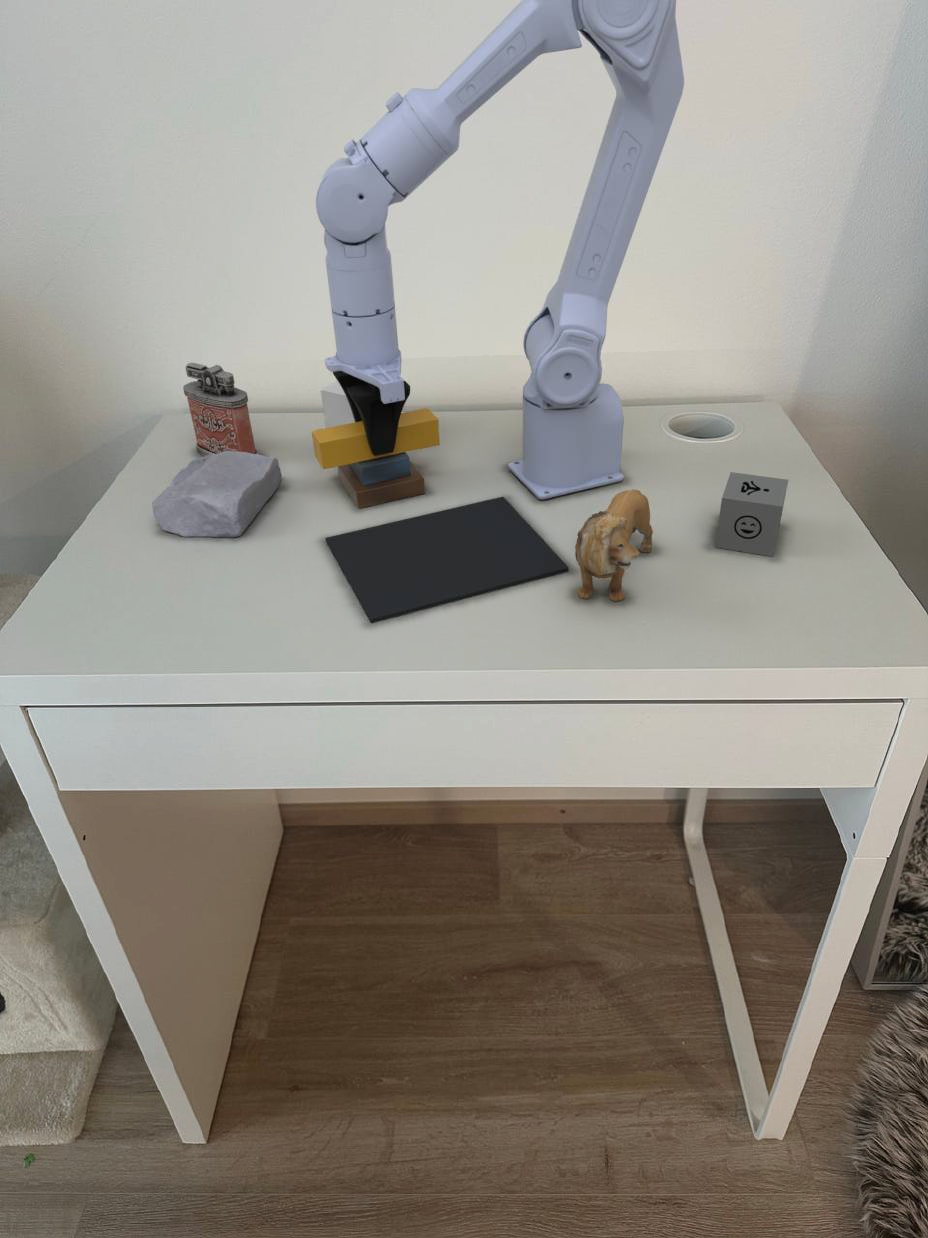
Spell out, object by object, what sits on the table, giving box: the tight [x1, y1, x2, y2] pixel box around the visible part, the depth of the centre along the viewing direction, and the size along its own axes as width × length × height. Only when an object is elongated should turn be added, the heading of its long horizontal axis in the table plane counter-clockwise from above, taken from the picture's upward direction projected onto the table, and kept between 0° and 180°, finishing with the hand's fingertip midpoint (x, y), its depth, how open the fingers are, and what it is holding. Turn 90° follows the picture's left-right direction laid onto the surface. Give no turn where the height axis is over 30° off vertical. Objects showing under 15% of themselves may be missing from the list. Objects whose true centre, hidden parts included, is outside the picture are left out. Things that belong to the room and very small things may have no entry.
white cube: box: [320, 380, 355, 428], centre depth 103 cm, size 6×6×6 cm
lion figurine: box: [574, 488, 654, 602], centre depth 78 cm, size 15×5×9 cm, turn 162°
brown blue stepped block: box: [336, 452, 426, 509], centre depth 94 cm, size 7×7×4 cm
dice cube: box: [714, 471, 789, 558], centre depth 83 cm, size 5×5×5 cm
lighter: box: [182, 362, 259, 457], centre depth 99 cm, size 8×3×10 cm, turn 58°
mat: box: [325, 496, 570, 624], centre depth 84 cm, size 18×14×1 cm
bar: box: [311, 407, 441, 470], centre depth 92 cm, size 12×3×3 cm, turn 112°
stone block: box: [151, 451, 282, 538], centre depth 92 cm, size 12×5×10 cm
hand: (377, 445), depth 92 cm, fingers closed on bar, 3 cm apart
